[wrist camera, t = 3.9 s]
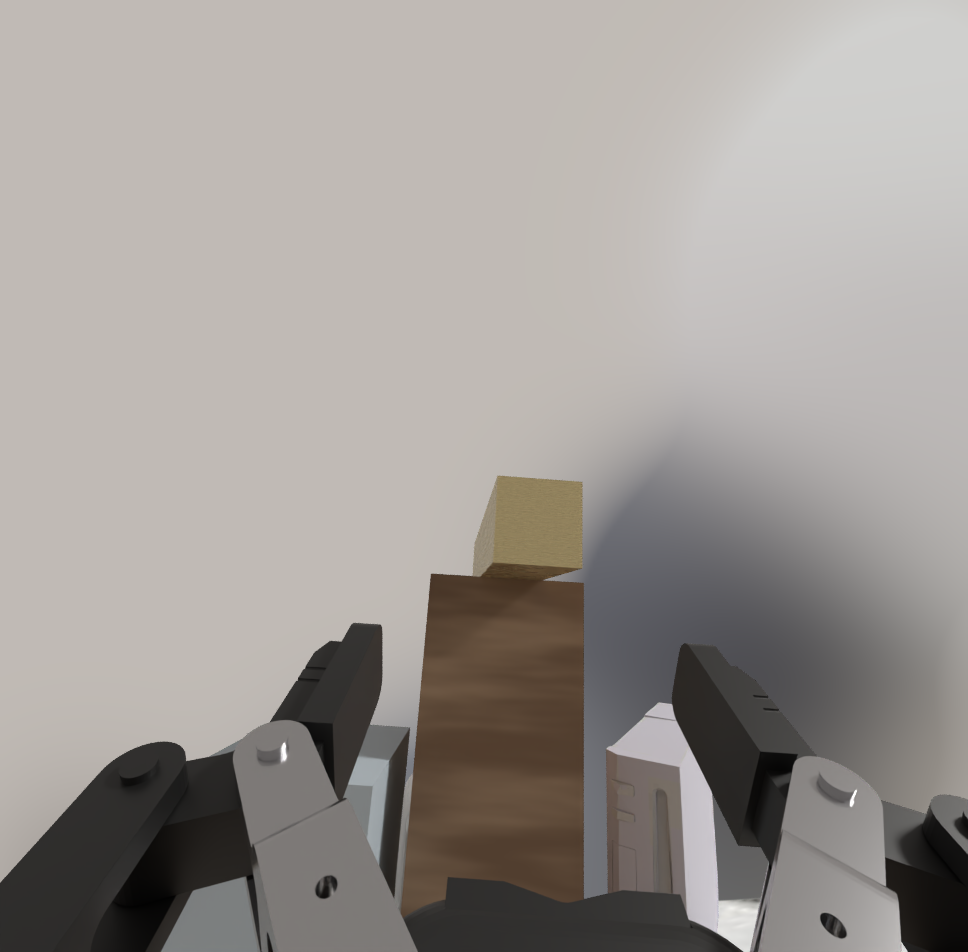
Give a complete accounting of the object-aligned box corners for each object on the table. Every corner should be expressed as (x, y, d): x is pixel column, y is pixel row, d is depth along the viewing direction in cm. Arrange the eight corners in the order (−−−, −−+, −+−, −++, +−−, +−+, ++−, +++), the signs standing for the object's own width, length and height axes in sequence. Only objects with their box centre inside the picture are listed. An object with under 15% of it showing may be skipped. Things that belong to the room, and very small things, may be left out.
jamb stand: (417, 995, 37) (449, 585, 46) (542, 1005, 37) (550, 591, 45) (368, 1272, 21) (431, 573, 30) (583, 1292, 21) (583, 582, 30)
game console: (602, 1088, 31) (599, 751, 36) (663, 890, 53) (656, 702, 59) (698, 1141, 28) (679, 767, 33) (719, 908, 51) (706, 709, 56)
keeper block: (220, 1082, 29) (279, 718, 35) (375, 1095, 29) (409, 727, 35) (48, 1387, 18) (179, 772, 24) (303, 1412, 18) (372, 786, 23)
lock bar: (472, 585, 43) (474, 543, 45) (514, 588, 44) (515, 546, 45) (493, 562, 20) (497, 475, 22) (582, 568, 21) (582, 481, 22)
